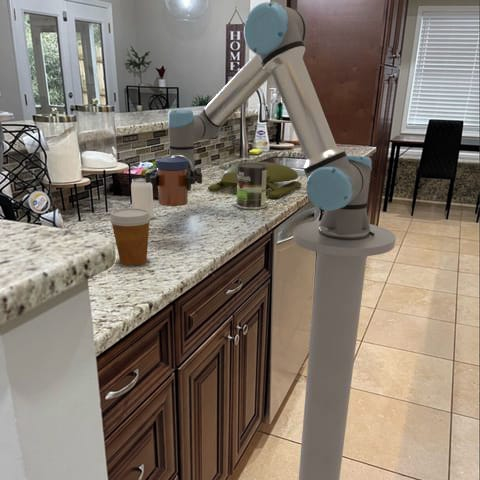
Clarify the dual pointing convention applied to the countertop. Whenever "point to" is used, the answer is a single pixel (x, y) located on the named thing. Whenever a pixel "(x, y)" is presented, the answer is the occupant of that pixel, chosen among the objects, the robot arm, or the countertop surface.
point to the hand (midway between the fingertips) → (170, 183)
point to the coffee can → (251, 185)
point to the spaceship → (273, 175)
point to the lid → (172, 163)
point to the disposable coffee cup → (131, 234)
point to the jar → (172, 187)
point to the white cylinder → (142, 195)
